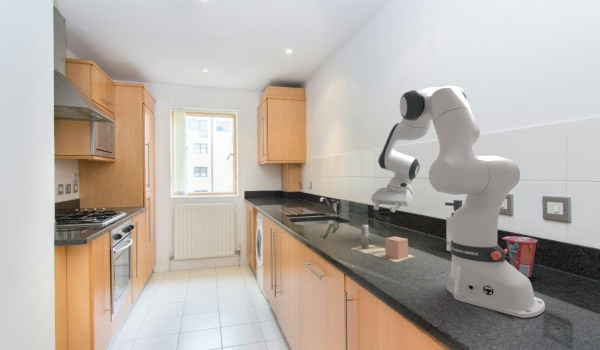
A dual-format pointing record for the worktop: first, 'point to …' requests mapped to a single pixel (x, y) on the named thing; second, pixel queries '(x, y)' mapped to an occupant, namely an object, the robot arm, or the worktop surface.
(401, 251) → the terracotta block
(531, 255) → the cup
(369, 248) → the birch strip
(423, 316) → the worktop surface
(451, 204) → the soap dispenser
